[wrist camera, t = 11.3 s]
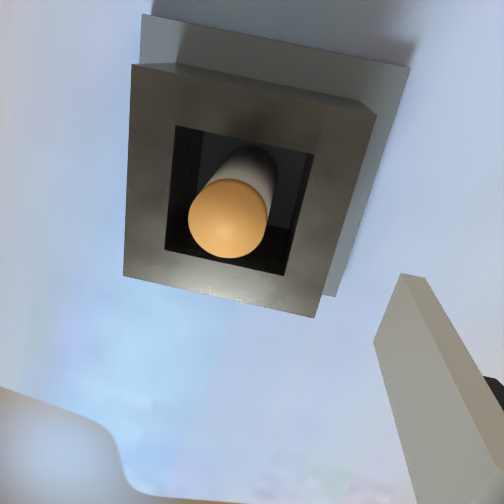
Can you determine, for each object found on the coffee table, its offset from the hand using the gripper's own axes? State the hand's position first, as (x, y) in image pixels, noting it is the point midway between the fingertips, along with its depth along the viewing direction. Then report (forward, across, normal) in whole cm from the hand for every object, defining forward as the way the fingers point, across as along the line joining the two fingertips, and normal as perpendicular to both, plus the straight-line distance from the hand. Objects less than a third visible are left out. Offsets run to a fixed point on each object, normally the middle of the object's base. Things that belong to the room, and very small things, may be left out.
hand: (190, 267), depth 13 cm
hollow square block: (+12, +1, 0) cm, 12 cm away
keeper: (+13, +1, 0) cm, 13 cm away
